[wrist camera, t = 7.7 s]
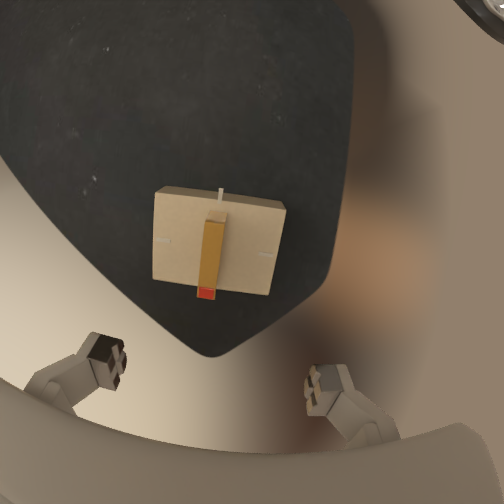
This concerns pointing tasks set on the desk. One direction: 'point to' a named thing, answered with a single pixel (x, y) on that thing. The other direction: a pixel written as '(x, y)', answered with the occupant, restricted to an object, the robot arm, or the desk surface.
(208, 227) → the yellow slab
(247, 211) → the tan block
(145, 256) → the desk surface
